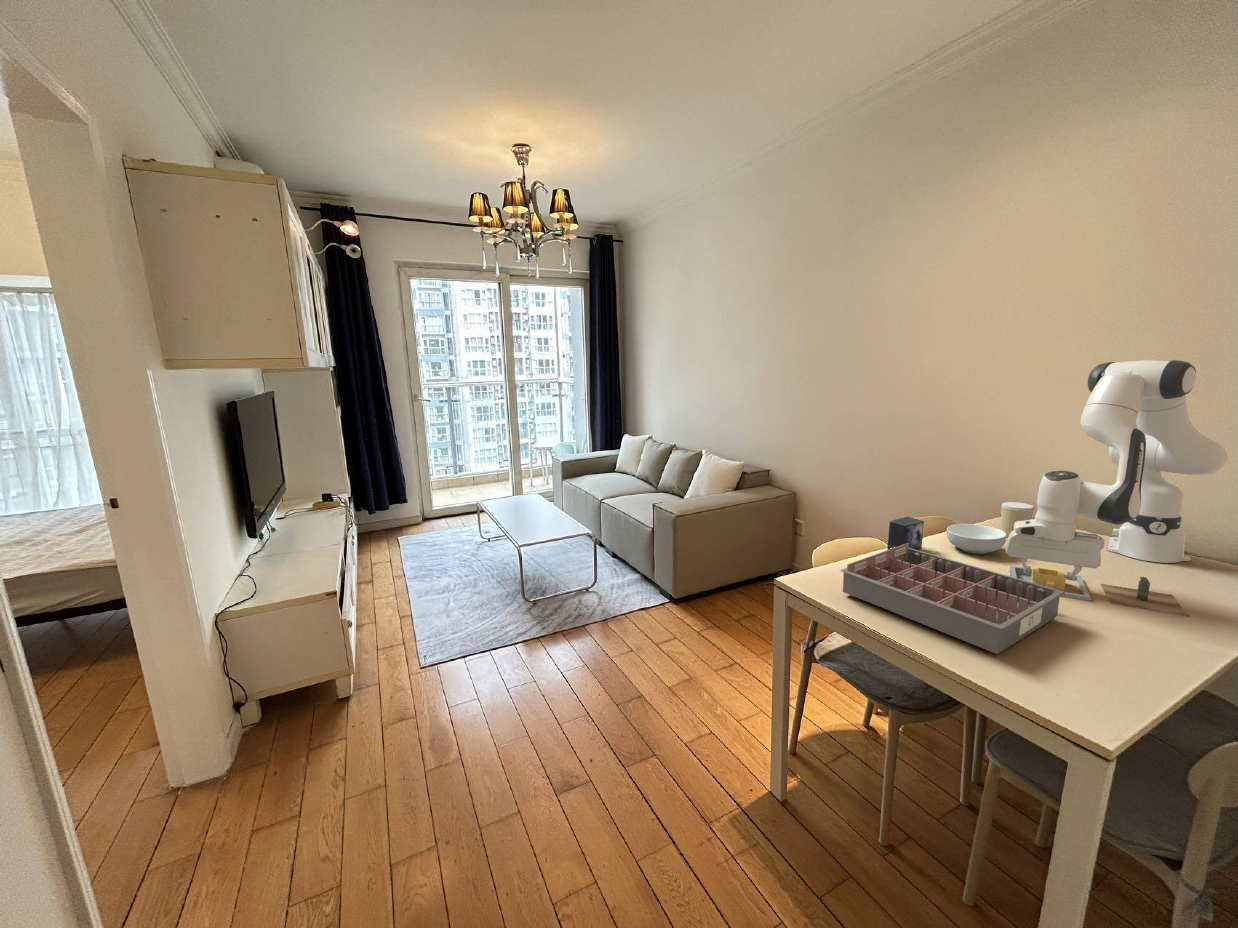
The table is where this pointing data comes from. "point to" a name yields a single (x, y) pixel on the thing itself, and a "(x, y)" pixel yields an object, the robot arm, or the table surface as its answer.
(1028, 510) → the coffee cup
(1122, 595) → the board with post
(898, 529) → the small box
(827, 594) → the table surface
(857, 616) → the table surface
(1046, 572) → the collar
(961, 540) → the cereal bowl
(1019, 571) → the tray
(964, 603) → the organizer tray
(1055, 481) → the robot arm
